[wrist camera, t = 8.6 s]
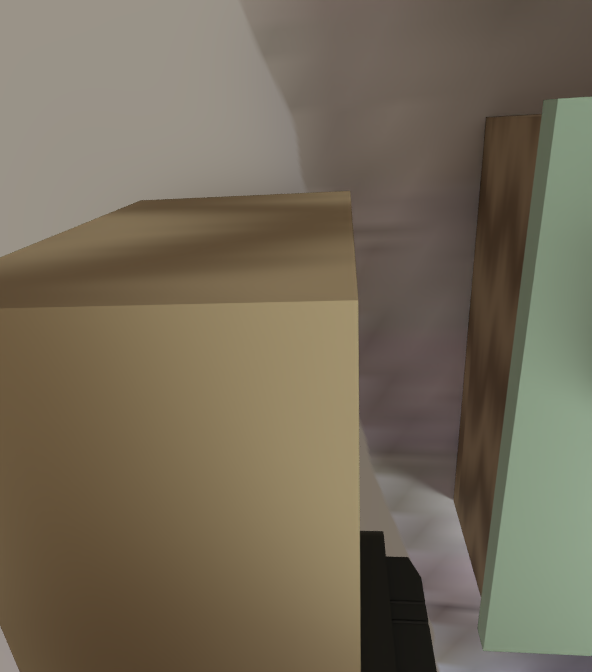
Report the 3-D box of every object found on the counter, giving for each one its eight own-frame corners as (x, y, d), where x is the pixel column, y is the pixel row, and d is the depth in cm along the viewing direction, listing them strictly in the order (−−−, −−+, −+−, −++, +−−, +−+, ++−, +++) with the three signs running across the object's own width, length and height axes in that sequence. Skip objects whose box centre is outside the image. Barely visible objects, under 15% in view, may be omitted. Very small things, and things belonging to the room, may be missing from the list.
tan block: (349, 190, 9) (358, 300, 4) (356, 722, 15) (363, 1053, 10) (140, 200, 10) (-134, 311, 4) (230, 713, 16) (170, 1026, 10)
